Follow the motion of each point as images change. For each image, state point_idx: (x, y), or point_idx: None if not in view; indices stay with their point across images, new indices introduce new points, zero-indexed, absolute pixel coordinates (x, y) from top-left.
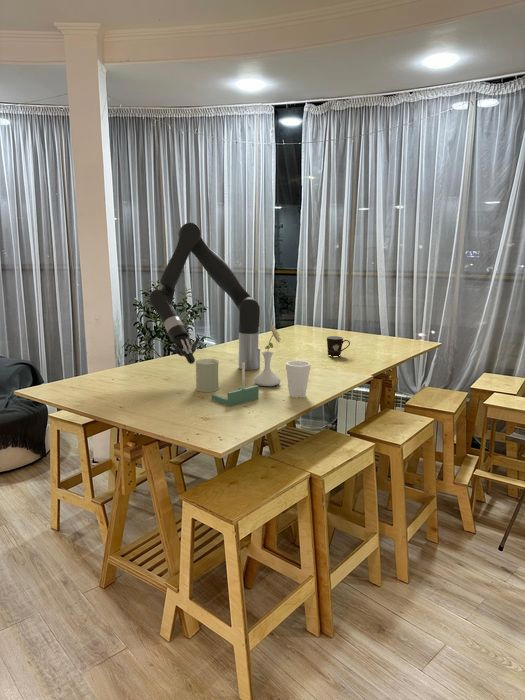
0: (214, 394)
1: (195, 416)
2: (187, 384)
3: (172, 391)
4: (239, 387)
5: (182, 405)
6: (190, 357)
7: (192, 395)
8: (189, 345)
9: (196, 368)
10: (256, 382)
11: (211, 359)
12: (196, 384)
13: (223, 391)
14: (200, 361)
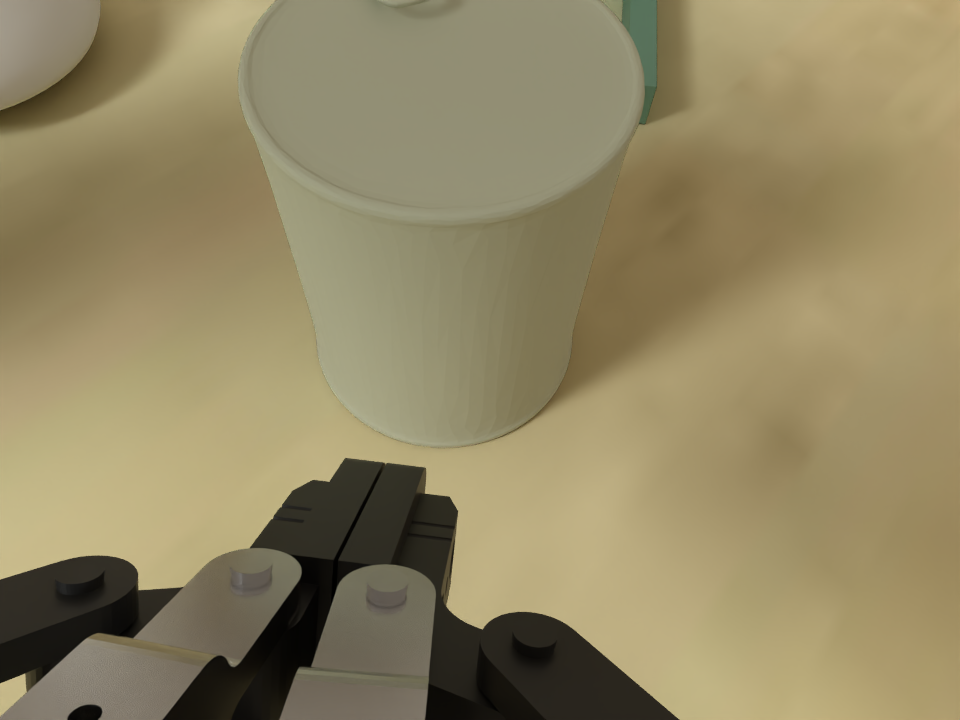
0: None
1: (943, 11)
2: None
3: (809, 547)
4: None
5: (925, 182)
6: (402, 504)
7: (705, 294)
8: (55, 710)
9: (606, 209)
10: (82, 42)
11: (271, 96)
12: (559, 360)
13: None
14: (517, 135)
